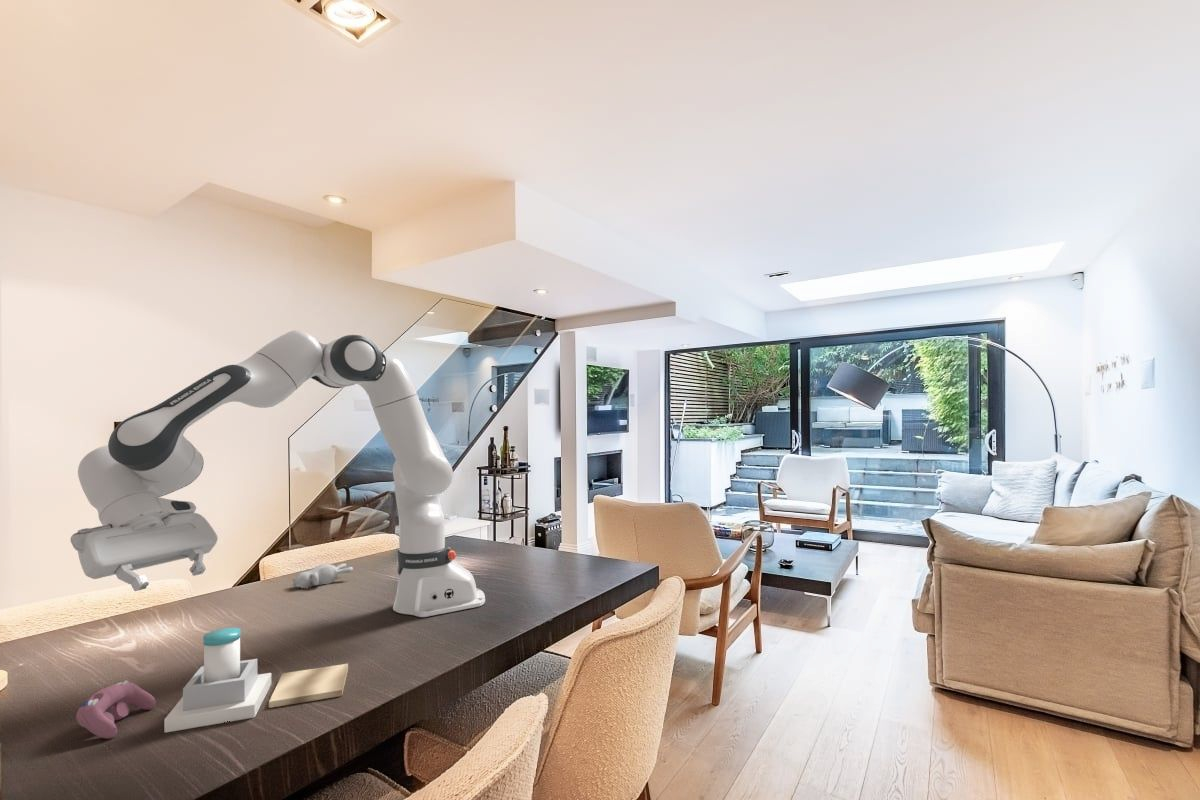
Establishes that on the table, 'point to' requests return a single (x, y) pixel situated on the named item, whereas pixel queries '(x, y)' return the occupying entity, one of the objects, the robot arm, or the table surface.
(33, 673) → the table surface
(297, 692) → the pad
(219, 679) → the cylinder
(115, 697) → the video game controller
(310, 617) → the table surface
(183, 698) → the housing
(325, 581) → the bunny figurine
